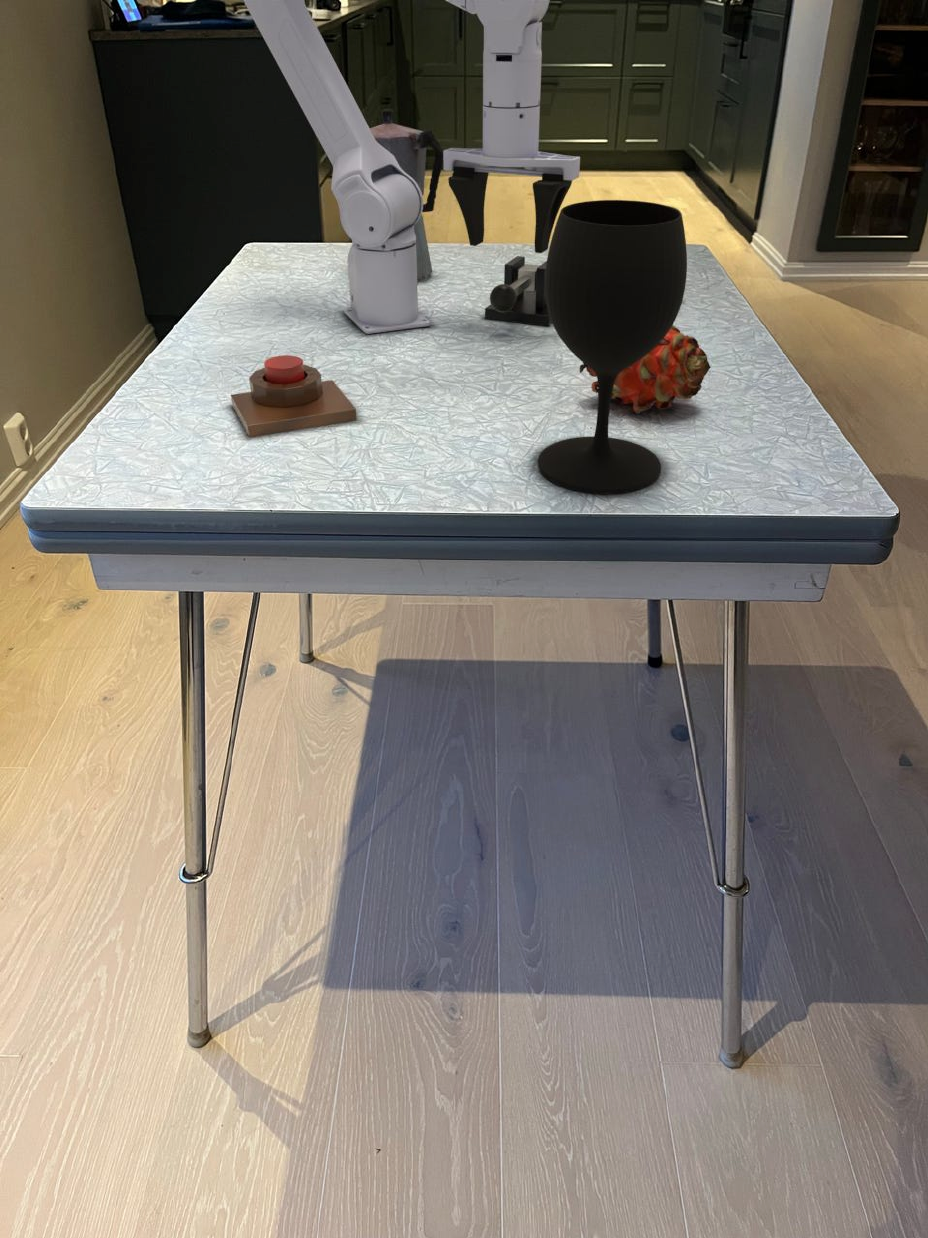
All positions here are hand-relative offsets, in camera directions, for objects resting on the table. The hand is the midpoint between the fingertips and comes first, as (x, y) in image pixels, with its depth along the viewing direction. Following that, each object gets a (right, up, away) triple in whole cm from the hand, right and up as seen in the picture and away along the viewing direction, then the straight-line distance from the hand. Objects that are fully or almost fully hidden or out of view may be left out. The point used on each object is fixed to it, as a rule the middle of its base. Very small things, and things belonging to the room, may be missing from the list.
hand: (508, 247), depth 102 cm
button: (-22, -18, -13) cm, 31 cm away
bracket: (+3, -3, +12) cm, 13 cm away
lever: (+1, -3, +8) cm, 8 cm away
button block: (-21, -21, -13) cm, 32 cm away
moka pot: (-13, +6, +26) cm, 30 cm away
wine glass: (+6, -28, -23) cm, 36 cm away
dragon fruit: (+12, -20, -12) cm, 26 cm away
